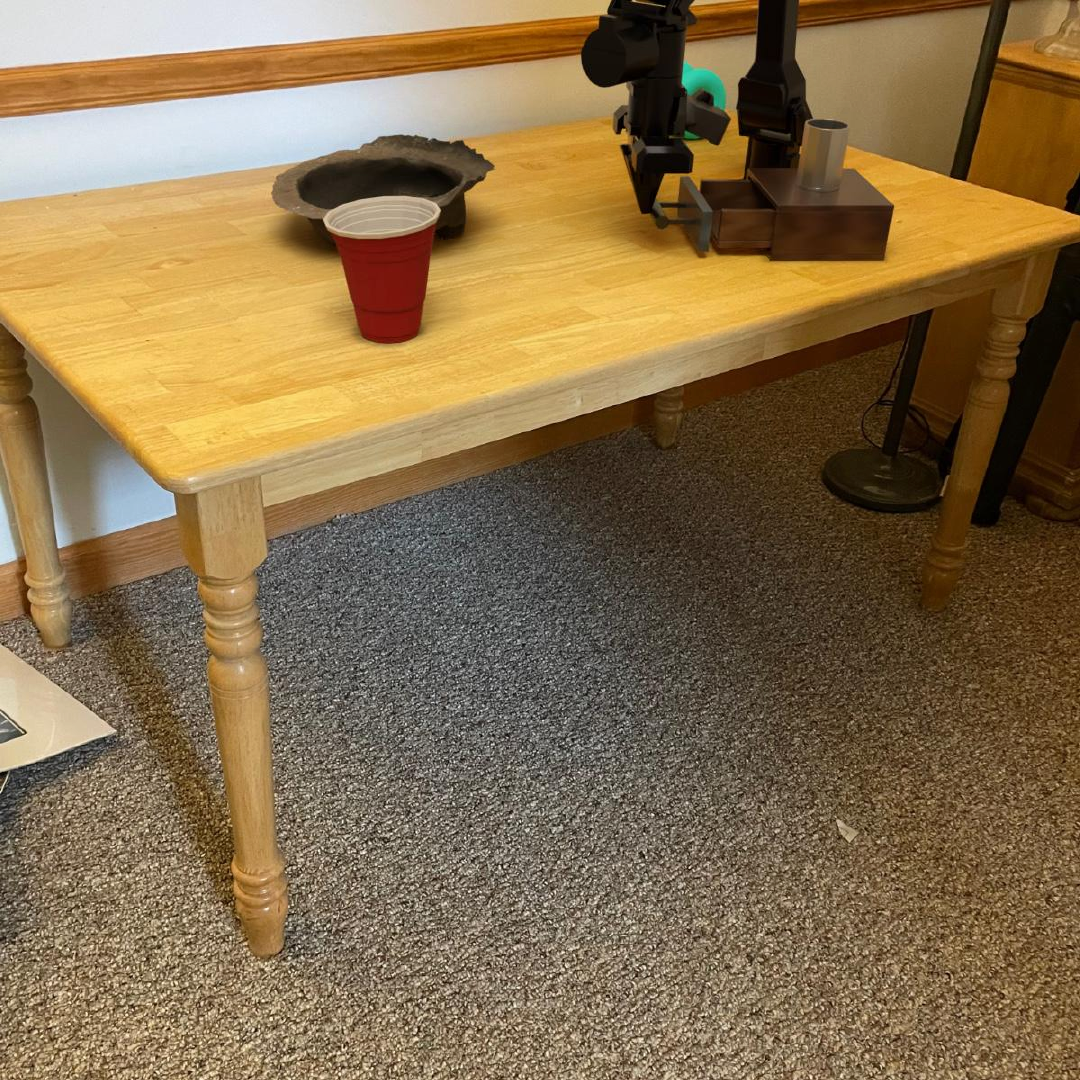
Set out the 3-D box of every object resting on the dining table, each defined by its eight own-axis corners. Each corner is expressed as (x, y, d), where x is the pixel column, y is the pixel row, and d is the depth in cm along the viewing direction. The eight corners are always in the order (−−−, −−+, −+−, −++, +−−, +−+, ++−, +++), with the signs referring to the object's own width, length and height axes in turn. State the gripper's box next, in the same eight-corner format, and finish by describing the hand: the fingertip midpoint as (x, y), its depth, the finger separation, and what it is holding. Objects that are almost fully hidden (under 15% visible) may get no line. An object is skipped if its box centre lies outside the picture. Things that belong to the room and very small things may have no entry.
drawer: (658, 252, 133) (661, 211, 131) (639, 214, 144) (642, 176, 142) (804, 251, 135) (811, 211, 132) (774, 214, 146) (780, 176, 143)
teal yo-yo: (670, 144, 175) (676, 73, 169) (635, 128, 182) (640, 59, 177) (725, 137, 179) (733, 68, 173) (689, 122, 186) (695, 55, 181)
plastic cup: (334, 310, 119) (326, 191, 112) (442, 309, 120) (439, 191, 113) (327, 355, 110) (317, 229, 103) (443, 354, 111) (441, 229, 104)
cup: (787, 184, 138) (796, 123, 134) (811, 176, 141) (821, 116, 137) (824, 194, 135) (834, 132, 131) (847, 186, 138) (858, 125, 134)
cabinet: (770, 260, 135) (778, 205, 131) (740, 219, 147) (747, 167, 143) (883, 260, 136) (894, 205, 132) (845, 219, 148) (854, 168, 144)
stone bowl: (523, 218, 143) (524, 142, 138) (422, 302, 125) (418, 218, 120) (350, 184, 152) (343, 111, 146) (231, 258, 134) (219, 178, 128)
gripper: (748, 93, 122) (730, 240, 131) (711, 55, 137) (697, 189, 146) (642, 92, 121) (631, 240, 130) (616, 54, 136) (608, 188, 145)
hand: (645, 213), depth 138 cm, fingers closed, pressing on drawer
